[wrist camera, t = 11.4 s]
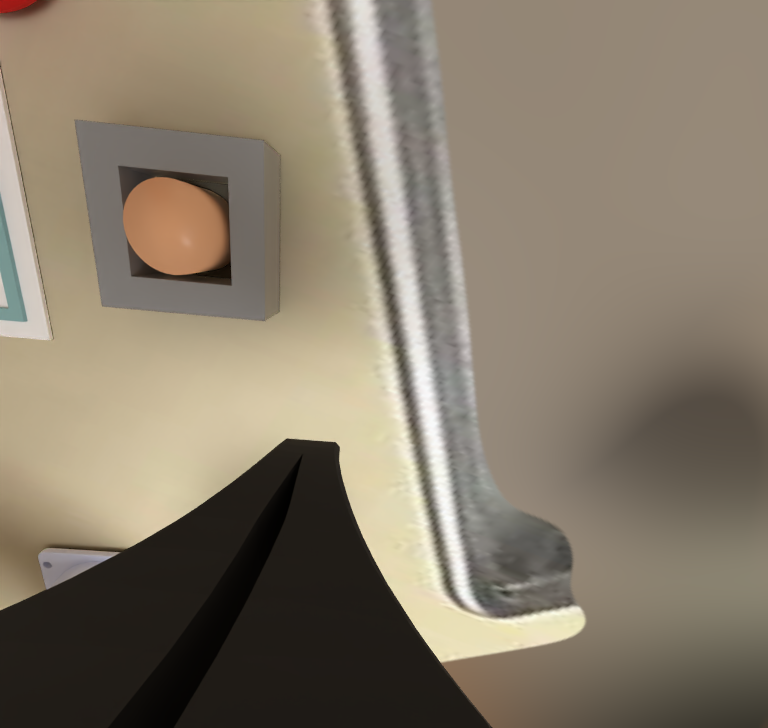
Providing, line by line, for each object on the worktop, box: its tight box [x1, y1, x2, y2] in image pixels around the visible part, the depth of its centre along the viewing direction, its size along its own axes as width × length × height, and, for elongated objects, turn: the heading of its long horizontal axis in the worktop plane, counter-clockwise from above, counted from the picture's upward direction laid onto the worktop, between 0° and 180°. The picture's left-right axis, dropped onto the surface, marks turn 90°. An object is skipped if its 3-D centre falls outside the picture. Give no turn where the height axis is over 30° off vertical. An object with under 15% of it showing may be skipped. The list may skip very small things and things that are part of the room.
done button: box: [123, 177, 231, 275], centre depth 15 cm, size 4×4×3 cm
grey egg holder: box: [75, 120, 280, 321], centre depth 16 cm, size 7×7×2 cm
